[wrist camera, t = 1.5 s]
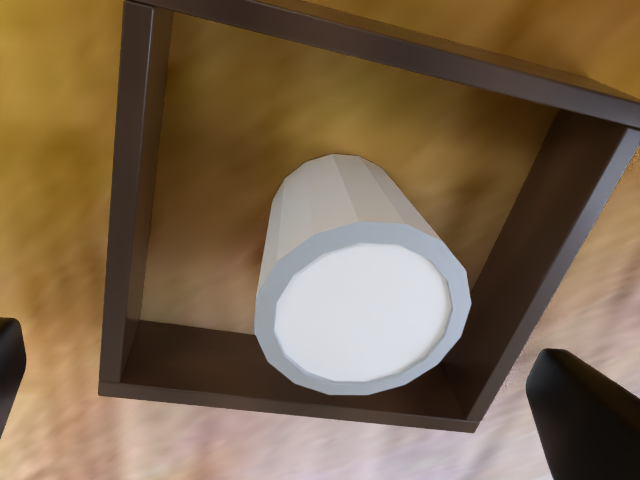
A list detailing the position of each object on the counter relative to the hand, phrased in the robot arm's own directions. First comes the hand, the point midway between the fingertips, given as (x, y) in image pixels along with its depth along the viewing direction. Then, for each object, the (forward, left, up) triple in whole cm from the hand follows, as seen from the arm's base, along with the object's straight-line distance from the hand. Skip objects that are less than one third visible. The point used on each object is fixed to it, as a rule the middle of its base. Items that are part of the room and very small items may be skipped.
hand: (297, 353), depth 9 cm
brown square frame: (-3, +3, -13) cm, 13 cm away
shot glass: (-3, +3, -13) cm, 14 cm away
